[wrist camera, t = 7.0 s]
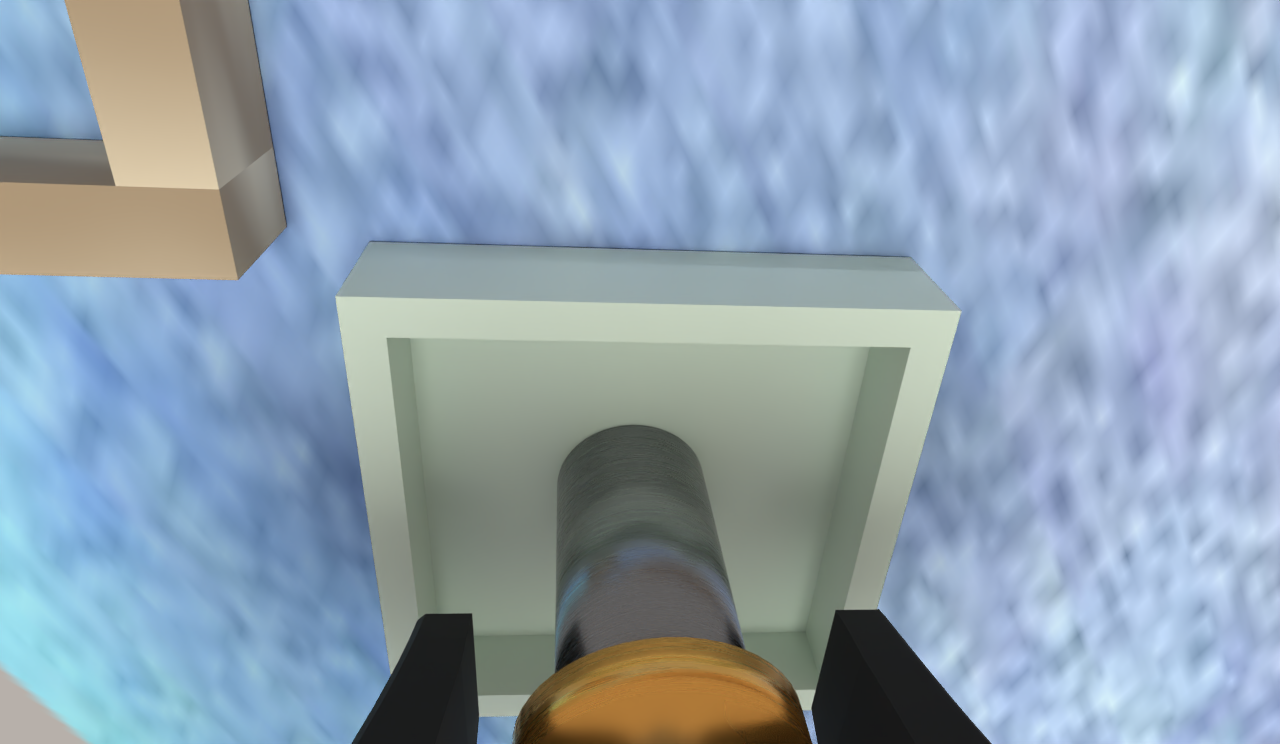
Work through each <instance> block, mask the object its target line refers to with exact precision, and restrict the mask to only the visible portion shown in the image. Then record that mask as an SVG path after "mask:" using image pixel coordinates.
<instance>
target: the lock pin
mask: <svg viewBox="0 0 1280 744" xmlns="http://www.w3.org/2000/svg"><path fill="white" fill-rule="evenodd" d="M512 744H812V741H811V738H810V734H809V731H808V728H807V724H806V721H805V717H804V714H803V711H802V707H801V704H800V701H799V698H798V695H797V693H796V691H795V689H794V688H793V686H792V684H791V683H790V681H789V680H788V679H787V678H786V677H785V676H784V674H783V673H782V672H781V671H779V670H778V669H777V668H776V667H775V666H774V665H772V664H771V663H770V662H768V661H766V660H765V659H763V658H761V657H760V656H758V655H756V654H754V653H752V652H749V651H747V650H746V649H745V645H744V641H743V637H742V632H741V628H740V624H739V620H738V616H737V612H736V608H735V604H734V599H733V595H732V591H731V587H730V583H729V579H728V575H727V570H726V566H725V562H724V558H723V554H722V550H721V546H720V542H719V537H718V533H717V529H716V525H715V521H714V517H713V513H712V508H711V504H710V500H709V496H708V492H707V488H706V484H705V479H704V475H703V471H702V467H701V465H700V462H699V460H698V458H697V456H696V454H695V453H694V451H693V450H692V449H691V447H690V446H688V445H687V444H686V443H685V442H684V441H683V440H682V439H680V438H679V437H677V436H676V435H674V434H672V433H670V432H668V431H665V430H663V429H659V428H656V427H652V426H645V425H623V426H617V427H612V428H609V429H606V430H602V431H600V432H598V433H595V434H593V435H592V436H590V437H588V438H586V439H585V440H583V441H582V442H581V443H579V444H578V445H577V446H576V447H575V448H574V449H573V450H572V451H571V452H570V453H569V455H568V456H567V457H566V459H565V461H564V462H563V464H562V466H561V469H560V471H559V475H558V480H557V533H556V612H555V673H554V674H553V675H552V676H550V677H549V678H548V679H547V680H546V681H544V682H543V683H542V684H541V685H540V686H539V687H538V688H537V689H536V690H535V691H534V692H533V694H532V695H531V696H530V697H529V698H528V700H527V701H526V703H525V704H524V706H523V707H522V709H521V711H520V713H519V716H518V718H517V720H516V723H515V727H514V732H513V742H512Z"/></svg>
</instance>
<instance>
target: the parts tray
mask: <svg viewBox="0 0 1280 744" xmlns="http://www.w3.org/2000/svg"><path fill="white" fill-rule="evenodd" d="M335 298H336V304H337V311H338V318H339V325H340V332H341V339H342V345H343V352H344V359H345V366H346V373H347V380H348V386H349V393H350V400H351V407H352V414H353V421H354V427H355V434H356V441H357V448H358V455H359V462H360V468H361V475H362V482H363V489H364V496H365V503H366V509H367V516H368V523H369V530H370V537H371V544H372V550H373V557H374V564H375V571H376V578H377V585H378V591H379V598H380V605H381V612H382V619H383V626H384V632H385V639H386V646H387V653H388V660H389V667H390V673H391V674H392V672H393V670H394V668H395V667H396V665H397V663H398V661H399V659H400V657H401V655H402V653H403V651H404V649H405V646H406V644H407V642H408V640H409V638H410V636H411V634H412V631H413V629H414V627H415V625H416V622H417V620H418V619H420V618H421V617H422V616H423V615H425V614H449V613H472V617H473V632H474V646H475V661H476V676H477V691H478V706H479V717H498V716H519V713H520V711H521V709H522V707H523V706H524V704H525V703H526V701H527V700H528V698H529V697H530V696H531V695H532V694H533V692H534V691H535V690H536V689H537V688H538V687H539V686H540V685H541V684H542V683H543V682H544V681H546V680H547V679H548V678H549V677H550V676H552V675H553V674H554V673H555V612H556V533H557V480H558V475H559V471H560V469H561V466H562V464H563V462H564V461H565V459H566V457H567V456H568V455H569V453H570V452H571V451H572V450H573V449H574V448H575V447H576V446H577V445H578V444H579V443H581V442H582V441H583V440H585V439H586V438H588V437H590V436H592V435H593V434H595V433H598V432H600V431H602V430H606V429H609V428H612V427H617V426H623V425H645V426H652V427H656V428H659V429H663V430H665V431H668V432H670V433H672V434H674V435H676V436H677V437H679V438H680V439H682V440H683V441H684V442H685V443H686V444H687V445H688V446H690V447H691V449H692V450H693V451H694V453H695V454H696V456H697V458H698V460H699V462H700V465H701V467H702V471H703V475H704V479H705V484H706V488H707V492H708V496H709V500H710V504H711V508H712V513H713V517H714V521H715V525H716V529H717V533H718V537H719V542H720V546H721V550H722V554H723V558H724V562H725V566H726V570H727V575H728V579H729V583H730V587H731V591H732V595H733V599H734V604H735V608H736V612H737V616H738V620H739V624H740V628H741V632H742V637H743V641H744V645H745V649H746V650H747V651H749V652H752V653H754V654H756V655H758V656H760V657H761V658H763V659H765V660H766V661H768V662H770V663H771V664H772V665H774V666H775V667H776V668H777V669H778V670H779V671H781V672H782V673H783V674H784V676H785V677H786V678H787V679H788V680H789V681H790V683H791V684H792V686H793V688H794V689H795V691H796V693H797V695H798V698H799V701H800V704H801V707H802V710H812V709H811V707H812V703H813V699H814V695H815V691H816V687H817V683H818V679H819V675H820V671H821V667H822V663H823V659H824V655H825V651H826V647H827V643H828V639H829V635H830V631H831V627H832V622H833V618H834V614H835V610H875V609H877V606H878V603H879V599H880V596H881V592H882V589H883V585H884V582H885V578H886V575H887V571H888V568H889V564H890V561H891V557H892V554H893V550H894V547H895V543H896V540H897V536H898V532H899V529H900V525H901V522H902V518H903V515H904V511H905V508H906V504H907V501H908V497H909V494H910V490H911V487H912V483H913V480H914V476H915V473H916V469H917V466H918V462H919V459H920V455H921V452H922V448H923V445H924V441H925V438H926V434H927V430H928V427H929V423H930V420H931V416H932V413H933V409H934V406H935V402H936V399H937V395H938V392H939V388H940V385H941V381H942V378H943V374H944V371H945V367H946V364H947V360H948V357H949V353H950V350H951V346H952V343H953V339H954V336H955V332H956V329H957V325H958V321H959V318H960V314H961V310H960V309H959V308H958V307H957V306H956V305H955V304H954V303H953V301H952V300H951V299H950V298H949V297H948V296H947V295H946V294H945V293H944V292H943V291H942V290H941V289H940V288H939V287H938V286H937V284H936V283H935V282H934V281H933V280H932V279H931V278H930V277H929V276H928V275H927V274H926V273H925V272H924V271H923V270H922V269H921V268H920V266H919V265H918V264H917V263H916V262H915V261H914V260H913V259H912V258H911V257H881V256H846V255H812V254H778V253H743V252H709V251H674V250H640V249H606V248H571V247H537V246H502V245H468V244H434V243H399V242H369V243H368V245H367V246H366V248H365V250H364V251H363V253H362V254H361V256H360V258H359V259H358V261H357V262H356V264H355V266H354V267H353V269H352V270H351V272H350V274H349V275H348V277H347V278H346V280H345V282H344V283H343V285H342V286H341V288H340V290H339V291H338V293H337V294H336V296H335Z"/></svg>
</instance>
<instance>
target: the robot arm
mask: <svg viewBox="0 0 1280 744" xmlns="http://www.w3.org/2000/svg"><path fill="white" fill-rule="evenodd" d="M811 709H812V715H813V720H814V725H815V731H816V736H817V741H818V744H991V743H990V741H989V740H988V739H987V738H986V737H985V736H984V735H983V733H982V732H981V731H980V730H979V729H978V728H977V727H976V725H975V724H974V723H973V722H972V721H971V720H970V719H969V718H968V716H967V715H966V714H965V713H964V712H963V710H962V709H961V708H960V707H959V706H958V705H957V703H956V702H955V701H954V700H953V699H952V698H951V696H950V695H949V694H948V693H947V692H946V690H945V689H944V688H943V687H942V685H941V684H940V683H939V682H938V681H937V679H936V678H935V677H934V676H933V675H932V673H931V672H930V671H929V670H928V669H927V667H926V666H925V665H924V664H923V662H922V661H921V660H920V659H919V658H918V656H917V655H916V654H915V653H914V651H913V650H912V649H911V648H910V646H909V645H908V644H907V643H906V641H905V640H904V639H903V638H902V636H901V635H900V634H899V633H898V632H897V630H896V629H895V628H894V627H893V625H892V624H891V623H890V622H889V620H888V619H887V618H886V617H885V616H884V615H883V613H882V612H881V611H880V610H879V609H875V610H835V614H834V618H833V622H832V627H831V631H830V635H829V639H828V643H827V647H826V651H825V655H824V659H823V663H822V667H821V671H820V675H819V679H818V683H817V687H816V691H815V695H814V699H813V703H812V707H811ZM478 721H479V706H478V691H477V676H476V661H475V646H474V632H473V617H472V613H449V614H425V615H423V616H422V617H421V618H420V619H418V620H417V622H416V625H415V627H414V629H413V631H412V634H411V636H410V638H409V640H408V642H407V644H406V646H405V649H404V651H403V653H402V655H401V657H400V659H399V661H398V663H397V665H396V667H395V668H394V670H393V672H392V674H391V676H390V678H389V680H388V682H387V683H386V685H385V687H384V689H383V691H382V692H381V694H380V696H379V698H378V700H377V701H376V703H375V705H374V707H373V709H372V710H371V712H370V714H369V715H368V717H367V719H366V720H365V722H364V724H363V725H362V727H361V729H360V730H359V732H358V734H357V735H356V737H355V739H354V740H353V742H352V744H477V733H478Z"/></svg>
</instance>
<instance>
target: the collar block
mask: <svg viewBox="0 0 1280 744" xmlns="http://www.w3.org/2000/svg"><path fill="white" fill-rule="evenodd" d="M65 4H66V8H67V11H68V15H69V18H70V22H71V26H72V29H73V33H74V37H75V40H76V44H77V47H78V51H79V55H80V58H81V62H82V66H83V69H84V73H85V76H86V80H87V84H88V87H89V91H90V95H91V98H92V102H93V106H94V109H95V113H96V116H97V120H98V124H99V127H100V131H101V135H102V138H103V140H78V139H52V138H26V137H0V274H12V275H52V276H93V277H133V278H173V279H214V280H239V279H240V277H241V276H242V275H243V274H244V273H245V272H246V271H247V270H248V269H249V268H250V266H251V265H252V264H253V263H254V262H255V261H256V260H257V259H258V258H259V257H260V255H261V254H262V253H263V252H264V251H265V250H266V249H267V248H268V247H269V246H270V244H271V243H272V242H273V241H274V240H275V239H276V238H277V237H278V236H279V235H280V234H281V232H282V231H283V230H284V229H285V228H286V227H287V226H286V220H285V214H284V208H283V203H282V197H281V191H280V185H279V179H278V173H277V168H276V162H275V156H274V150H273V144H272V138H271V133H270V127H269V121H268V115H267V109H266V103H265V98H264V92H263V86H262V80H261V74H260V68H259V63H258V57H257V51H256V45H255V39H254V33H253V28H252V22H251V16H250V10H249V4H248V0H65Z"/></svg>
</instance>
